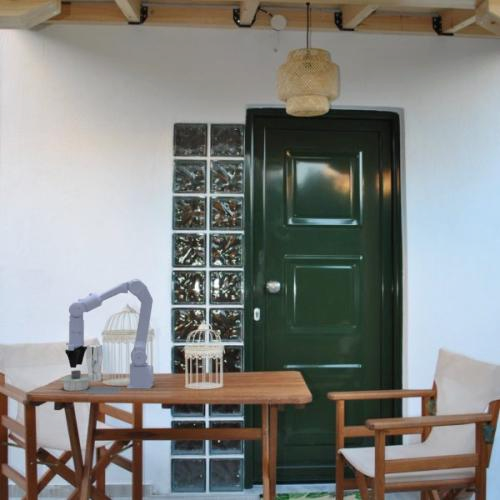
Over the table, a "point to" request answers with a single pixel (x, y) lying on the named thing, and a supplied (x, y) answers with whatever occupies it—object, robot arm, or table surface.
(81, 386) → the bowl
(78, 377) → the lid
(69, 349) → the robot arm
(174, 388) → the table surface
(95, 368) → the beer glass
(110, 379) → the table surface
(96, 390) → the mat
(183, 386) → the table surface
